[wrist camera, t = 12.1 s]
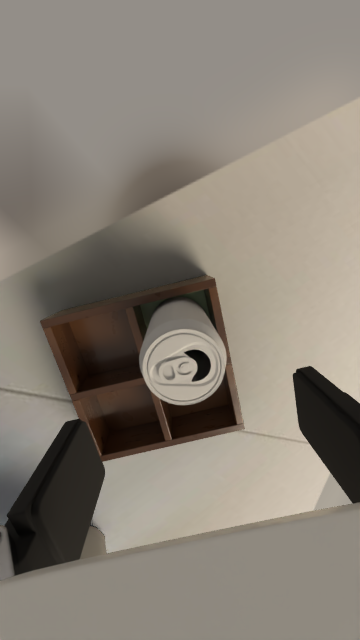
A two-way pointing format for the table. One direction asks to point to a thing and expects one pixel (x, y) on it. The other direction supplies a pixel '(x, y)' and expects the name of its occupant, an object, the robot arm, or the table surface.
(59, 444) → the robot arm
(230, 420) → the tray
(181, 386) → the beverage can
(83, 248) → the table surface
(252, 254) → the table surface
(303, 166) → the table surface
